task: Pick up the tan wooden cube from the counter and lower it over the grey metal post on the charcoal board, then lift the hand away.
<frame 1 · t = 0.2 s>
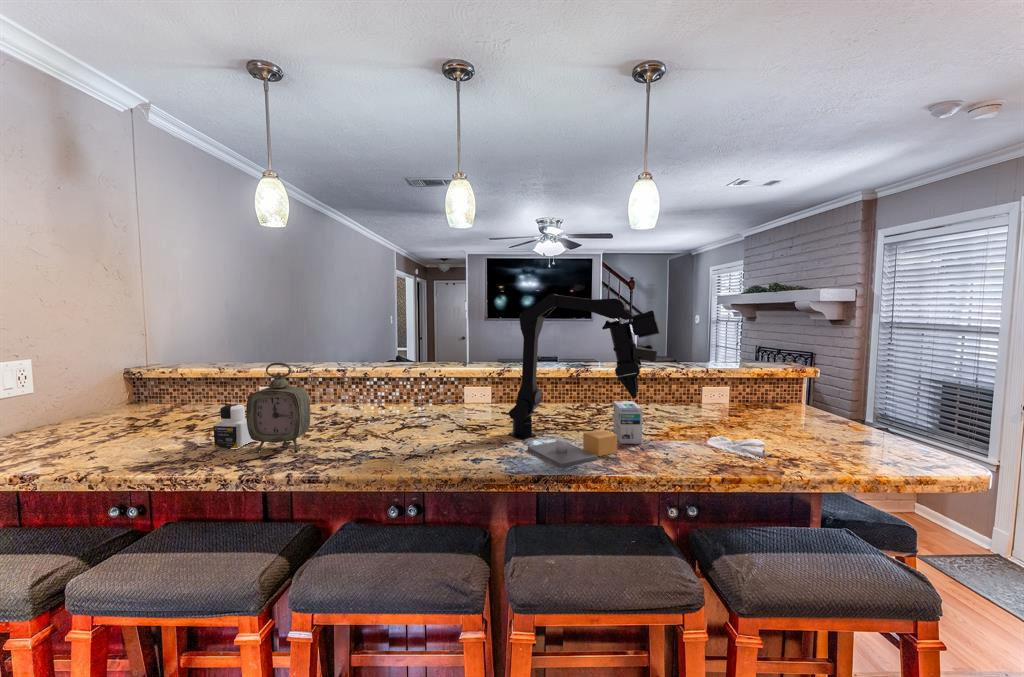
hand: (635, 395, 129), 15 cm above the countertop, tool pointing down, fingers open, 9 cm apart
tabletop clock: (282, 450, 130), on the countertop
cloth: (747, 451, 130), on the countertop
tan wooden cube: (599, 451, 127), on the countertop
light bulb box: (627, 439, 139), on the countertop
post board: (561, 454, 125), on the countertop
medicine bottle: (234, 446, 134), on the countertop
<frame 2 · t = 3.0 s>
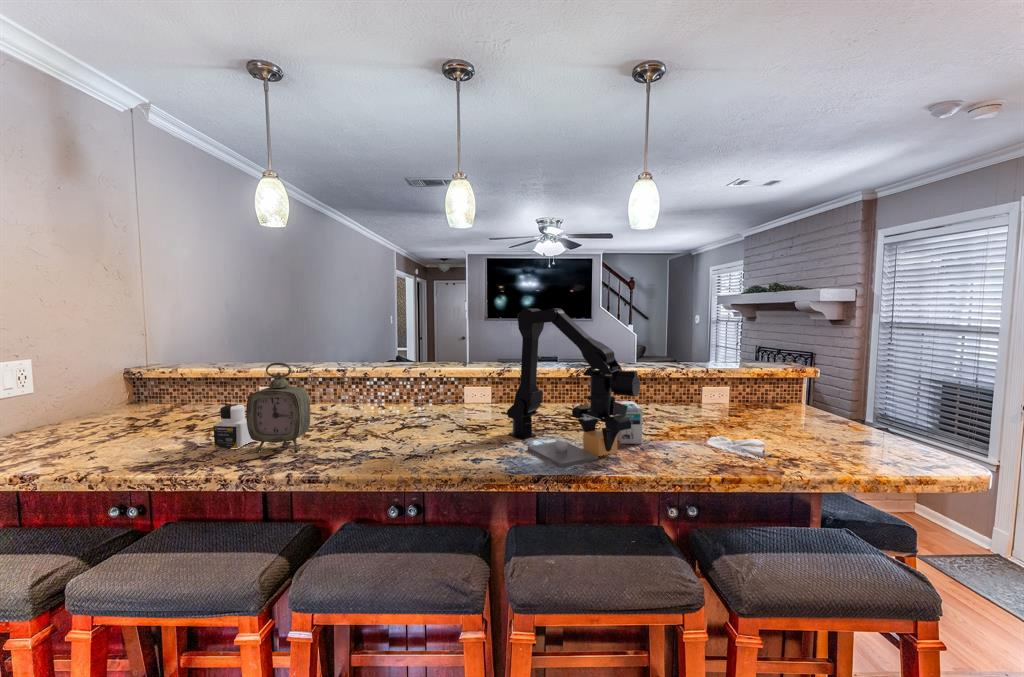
hand: (600, 447, 127), 1 cm above the countertop, tool pointing down, fingers closed on tan wooden cube, 7 cm apart
tan wooden cube: (600, 451, 127), on the countertop, touching gripper
everything else where it was.
when the fingers open (3 cm above the countertop, at t = 8.1 s): tan wooden cube drops 1 cm, resting on post board.
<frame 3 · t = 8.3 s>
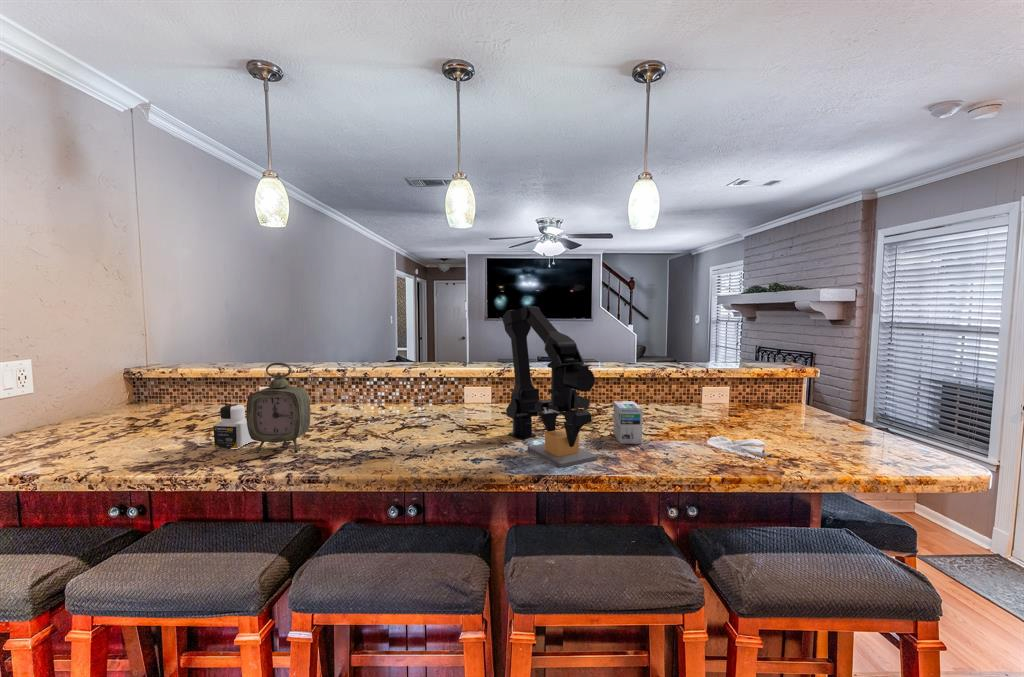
hand: (561, 442, 124), 3 cm above the countertop, tool pointing down, fingers open, 9 cm apart
tan wooden cube: (561, 451, 124), point 1 cm above the countertop, touching post board
everything else where it was.
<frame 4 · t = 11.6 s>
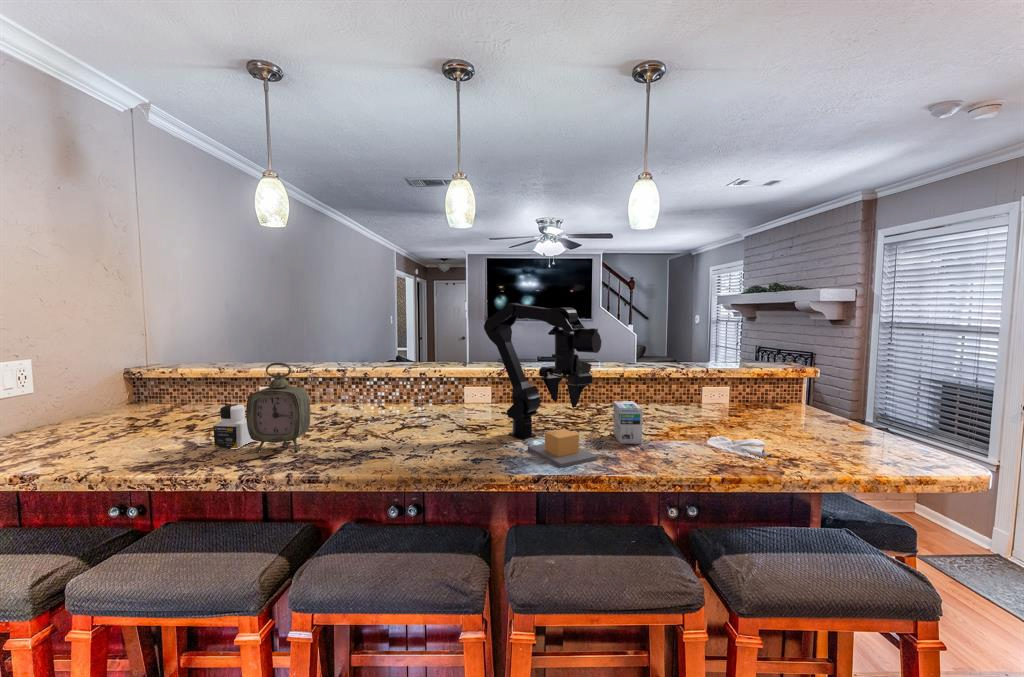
hand: (564, 404, 133), 12 cm above the countertop, tool pointing down, fingers open, 9 cm apart
nothing on the countertop moved.
at the end: tan wooden cube 0.0 cm off-centre on the post board, point 1.0 cm above the post board's base; tan wooden cube tilted 0°; the gripper is holding nothing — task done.
